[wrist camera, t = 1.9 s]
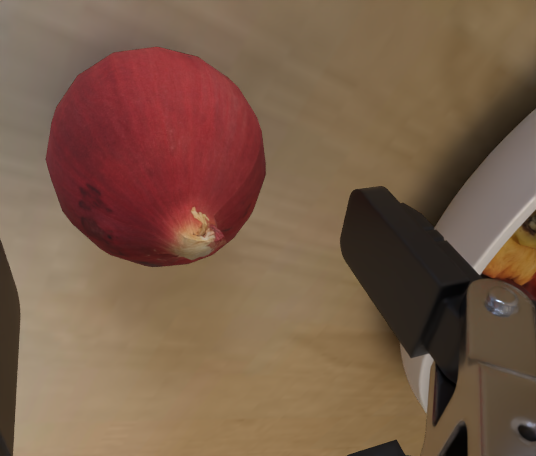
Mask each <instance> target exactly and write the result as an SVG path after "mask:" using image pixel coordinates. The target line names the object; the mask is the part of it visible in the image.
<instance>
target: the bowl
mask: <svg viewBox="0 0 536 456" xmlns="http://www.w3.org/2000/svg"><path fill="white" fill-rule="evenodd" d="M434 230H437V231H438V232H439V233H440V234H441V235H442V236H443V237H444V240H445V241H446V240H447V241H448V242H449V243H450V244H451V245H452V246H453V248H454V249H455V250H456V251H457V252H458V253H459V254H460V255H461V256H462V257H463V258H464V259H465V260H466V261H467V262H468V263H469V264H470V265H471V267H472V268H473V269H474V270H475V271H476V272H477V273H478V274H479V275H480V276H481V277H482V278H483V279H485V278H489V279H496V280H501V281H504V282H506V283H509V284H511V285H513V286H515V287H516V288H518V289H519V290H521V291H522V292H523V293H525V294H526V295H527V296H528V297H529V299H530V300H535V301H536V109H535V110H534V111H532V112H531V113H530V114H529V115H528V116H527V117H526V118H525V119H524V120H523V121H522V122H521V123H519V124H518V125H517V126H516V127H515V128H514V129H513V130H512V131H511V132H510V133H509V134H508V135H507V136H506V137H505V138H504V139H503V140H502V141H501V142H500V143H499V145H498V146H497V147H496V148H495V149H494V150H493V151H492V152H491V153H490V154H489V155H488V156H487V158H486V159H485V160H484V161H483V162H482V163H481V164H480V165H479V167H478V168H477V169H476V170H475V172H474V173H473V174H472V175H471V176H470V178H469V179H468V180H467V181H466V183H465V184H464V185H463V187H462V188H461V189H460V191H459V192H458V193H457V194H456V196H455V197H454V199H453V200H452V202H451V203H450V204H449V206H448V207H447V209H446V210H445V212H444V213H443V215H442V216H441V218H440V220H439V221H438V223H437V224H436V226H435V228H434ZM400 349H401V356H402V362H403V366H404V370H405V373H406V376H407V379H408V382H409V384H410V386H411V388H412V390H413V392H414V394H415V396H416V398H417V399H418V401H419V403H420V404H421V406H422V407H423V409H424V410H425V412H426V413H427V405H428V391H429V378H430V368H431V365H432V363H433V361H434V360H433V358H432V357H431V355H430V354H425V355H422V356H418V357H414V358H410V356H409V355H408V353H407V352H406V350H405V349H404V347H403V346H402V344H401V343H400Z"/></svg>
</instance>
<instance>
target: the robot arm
mask: <svg viewBox="0 0 536 456" xmlns="http://www.w3.org/2000/svg"><path fill="white" fill-rule="evenodd" d="M340 246H341V252H342V255H343V257H344V260H345V261H346V263H347V264H348V266H349V267H350V269H351V270H352V272H353V273H354V275H355V276H356V278H357V279H358V281H359V282H360V284H361V285H362V287H363V288H364V290H365V291H366V292H367V294H368V295H369V297H370V298H371V300H372V301H373V303H374V304H375V306H376V307H377V309H378V310H379V312H380V313H381V315H382V316H383V318H384V319H385V321H386V322H387V324H388V325H389V327H390V328H391V330H392V331H393V333H394V334H395V336H396V337H397V338H398V340H399V341H400V343H401V344H402V346H403V347H404V349H405V350H406V352H407V353H408V355H409V356H410V358H414V357H418V356H422V355H425V354H430V355H431V357H432V358H433V360H434V361H433V363H432V365H431V368H430V378H429V391H428V405H427V419H426V432H425V439H424V444H423V448H422V451H421V454H420V456H536V301H535V300H530V299H529V297H528V296H527V295H526V294H525V293H523V292H522V291H521V290H519V289H518V288H516V287H515V286H513V285H511V284H509V283H506V282H504V281H501V280H496V279H489V278H485V279H483V278H482V277H481V276H480V275H479V274H478V273H477V272H476V271H475V270H474V269H473V268H472V267H471V265H470V264H469V263H468V262H467V261H466V260H465V259H464V258H463V257H462V256H461V255H460V254H459V253H458V252H457V251H456V250H455V249H454V248H453V246H452V245H451V244H450V243H449V242H448V241H447V240H446V241H445V240H444V237H443V236H442V235H441V234H440V233H439V232H438V231H437V230H434V226H433V225H432V224H431V223H430V222H429V221H428V220H427V219H426V218H425V217H424V216H423V215H422V214H421V213H420V212H418V211H416V210H415V209H413V208H411V207H410V206H408V205H406V204H404V203H400V202H399V201H398V200H397V199H396V198H395V197H394V196H393V195H392V194H391V193H390V192H389V191H388V189H386V188H385V187H383V186H378V187H370V188H363V189H355V190H353V191H352V193H351V195H350V198H349V202H348V206H347V210H346V215H345V219H344V224H343V228H342V232H341V237H340ZM19 333H20V304H19V297H18V292H17V288H16V285H15V282H14V279H13V276H12V273H11V270H10V267H9V264H8V261H7V258H6V255H5V251H4V248H3V245H2V242H1V240H0V456H13V443H14V424H15V406H16V388H17V369H18V351H19ZM347 456H409V455H405V454H404V452H403V450H402V449H401V447H400V445H399V443H398V441H397V440H394V441H390V442H387V443H384V444H381V445H378V446H375V447H371V448H368V449H365V450H362V451H359V452H356V453H353V454H349V455H347Z"/></svg>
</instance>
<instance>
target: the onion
mask: <svg viewBox="0 0 536 456" xmlns="http://www.w3.org/2000/svg"><path fill="white" fill-rule="evenodd" d="M46 162H47V166H48V170H49V174H50V177H51V180H52V183H53V186H54V188H55V191H56V194H57V197H58V200H59V203H60V205H61V208H62V211H63V212H64V214H65V215H66V216H67V218H68V219H69V220H70V221H71V223H72V224H73V225H74V226H76V227H77V228H78V229H79V230H80V231H81V232H82V233H83V234H84V235H86V236H87V237H88V238H89V239H90V240H91V241H92V242H93V243H94V244H96V245H97V246H98V247H99V248H100V249H102V250H103V251H105V252H106V253H108V254H110V255H112V256H115V257H119V258H122V259H125V260H128V261H131V262H134V263H138V264H141V265H144V266H149V267H162V266H172V265H183V264H189V263H192V262H195V261H197V260H200V259H203V258H205V257H208V256H211V255H213V254H214V253H215V252H217V251H218V250H219V249H220V248H222V247H223V246H224V245H225V244H227V243H228V242H229V241H230V240H232V239H233V238H234V237H235V236H236V234H237V233H238V232H239V230H240V229H241V228H242V226H243V225H244V224H245V222H246V221H247V220H248V218H249V217H250V215H251V213H252V212H253V209H254V207H255V204H256V201H257V198H258V195H259V193H260V190H261V187H262V184H263V181H264V178H265V175H266V163H265V155H264V146H263V138H262V131H261V128H260V125H259V122H258V119H257V116H256V115H255V113H254V112H253V110H252V108H251V107H250V105H249V104H248V102H247V100H246V99H245V97H244V96H243V94H242V92H241V91H240V89H239V88H238V87H237V86H236V85H235V84H234V83H233V82H232V81H231V80H230V79H229V78H228V77H226V76H225V75H223V74H222V73H220V72H219V71H218V70H216V69H215V68H213V67H212V66H210V65H209V64H207V63H206V62H205V61H203V60H202V59H200V58H199V57H197V56H193V55H189V54H185V53H181V52H176V51H172V50H168V49H164V48H160V47H151V48H144V49H136V50H129V51H121V52H114V53H112V54H110V55H109V56H107V57H106V58H104V59H103V60H101V61H100V62H98V63H96V64H95V65H93V66H92V67H90V68H89V69H87V70H85V71H84V72H82V73H81V74H79V75H78V76H77V77H76V79H75V80H74V82H73V83H72V85H71V86H70V88H69V89H68V91H67V92H66V94H65V95H64V97H63V98H62V100H61V101H60V102H59V104H58V105H57V107H56V110H55V113H54V116H53V119H52V123H51V130H50V136H49V142H48V148H47V154H46Z"/></svg>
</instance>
